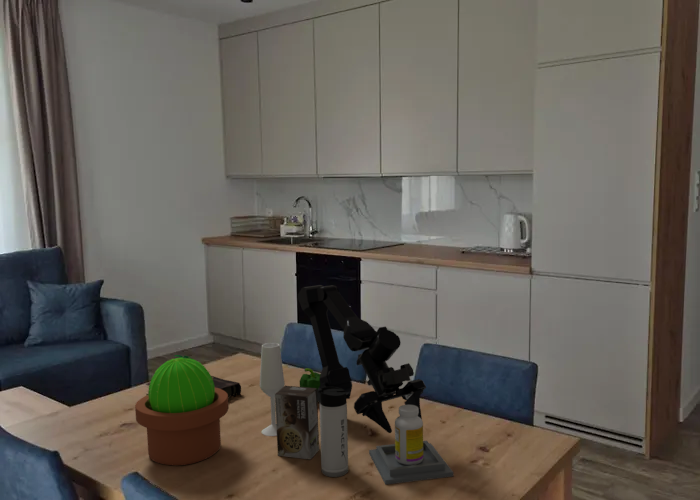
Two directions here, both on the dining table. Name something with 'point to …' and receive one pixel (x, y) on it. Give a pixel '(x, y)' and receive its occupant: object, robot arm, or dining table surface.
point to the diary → (224, 386)
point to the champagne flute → (271, 379)
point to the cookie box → (297, 422)
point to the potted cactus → (182, 413)
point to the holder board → (401, 473)
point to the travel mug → (333, 431)
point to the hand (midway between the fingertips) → (406, 427)
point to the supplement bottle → (409, 436)
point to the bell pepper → (310, 379)
